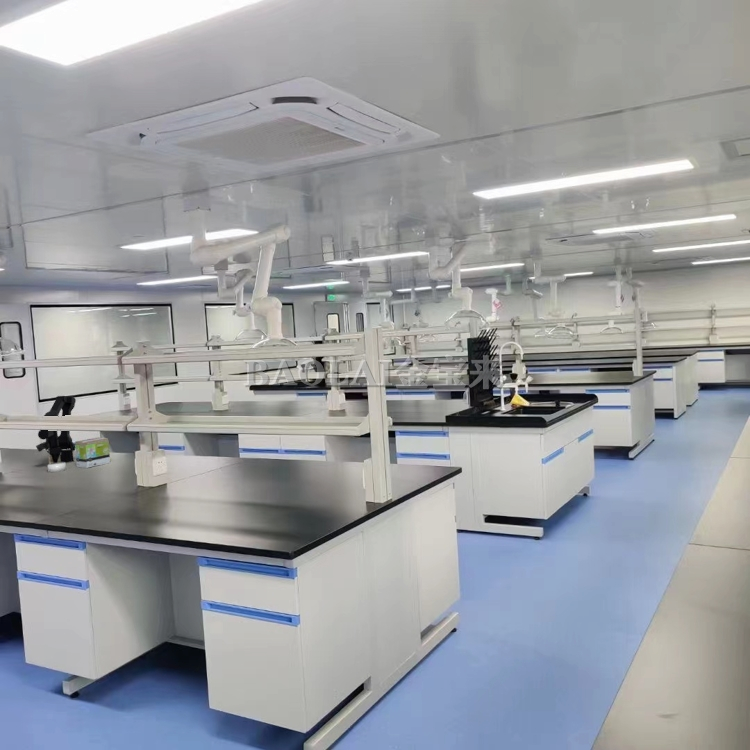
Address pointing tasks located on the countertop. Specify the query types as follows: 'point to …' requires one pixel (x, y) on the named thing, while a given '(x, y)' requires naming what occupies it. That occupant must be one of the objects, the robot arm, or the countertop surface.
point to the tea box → (92, 452)
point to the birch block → (52, 459)
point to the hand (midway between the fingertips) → (54, 463)
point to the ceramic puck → (57, 467)
